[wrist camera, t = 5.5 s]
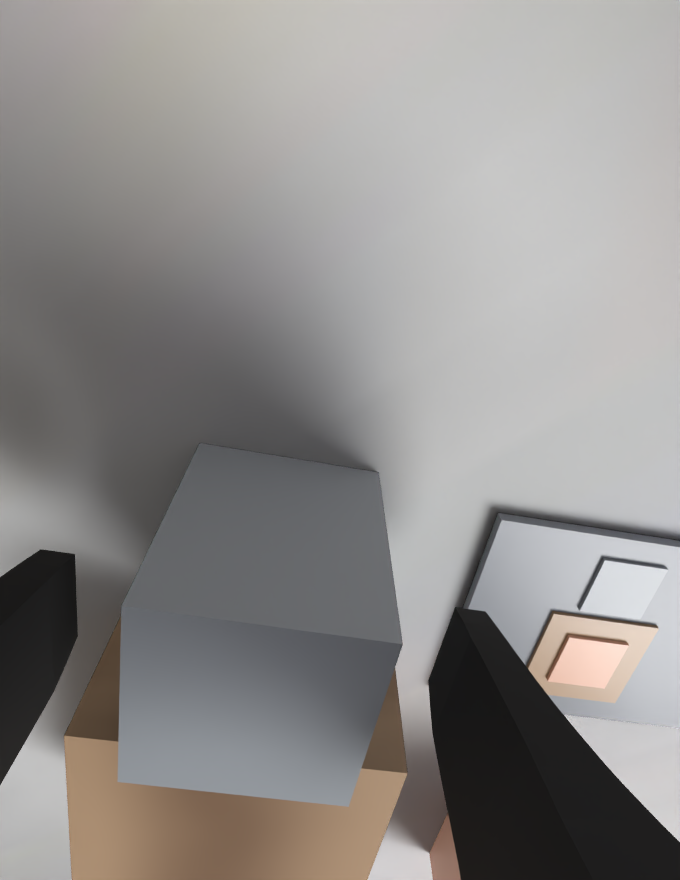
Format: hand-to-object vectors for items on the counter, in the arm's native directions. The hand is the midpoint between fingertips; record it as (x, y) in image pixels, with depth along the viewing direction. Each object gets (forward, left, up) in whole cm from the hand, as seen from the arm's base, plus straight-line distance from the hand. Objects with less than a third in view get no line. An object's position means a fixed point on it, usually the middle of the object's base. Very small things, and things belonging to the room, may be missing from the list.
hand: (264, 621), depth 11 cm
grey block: (0, 0, -3) cm, 3 cm away
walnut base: (0, +7, -3) cm, 7 cm away
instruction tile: (-9, +2, -3) cm, 10 cm away
